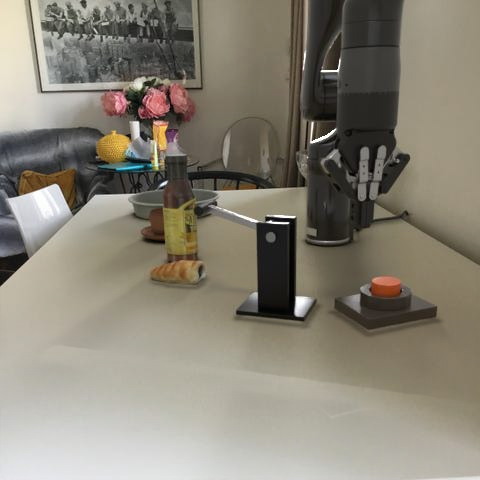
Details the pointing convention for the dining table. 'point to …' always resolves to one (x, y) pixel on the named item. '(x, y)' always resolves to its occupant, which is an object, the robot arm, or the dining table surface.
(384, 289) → the ignition button
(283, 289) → the stand
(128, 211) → the dining table surface
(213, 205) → the lever
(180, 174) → the sauce bottle
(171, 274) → the pastry
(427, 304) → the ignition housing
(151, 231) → the cup and saucer
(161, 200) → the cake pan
